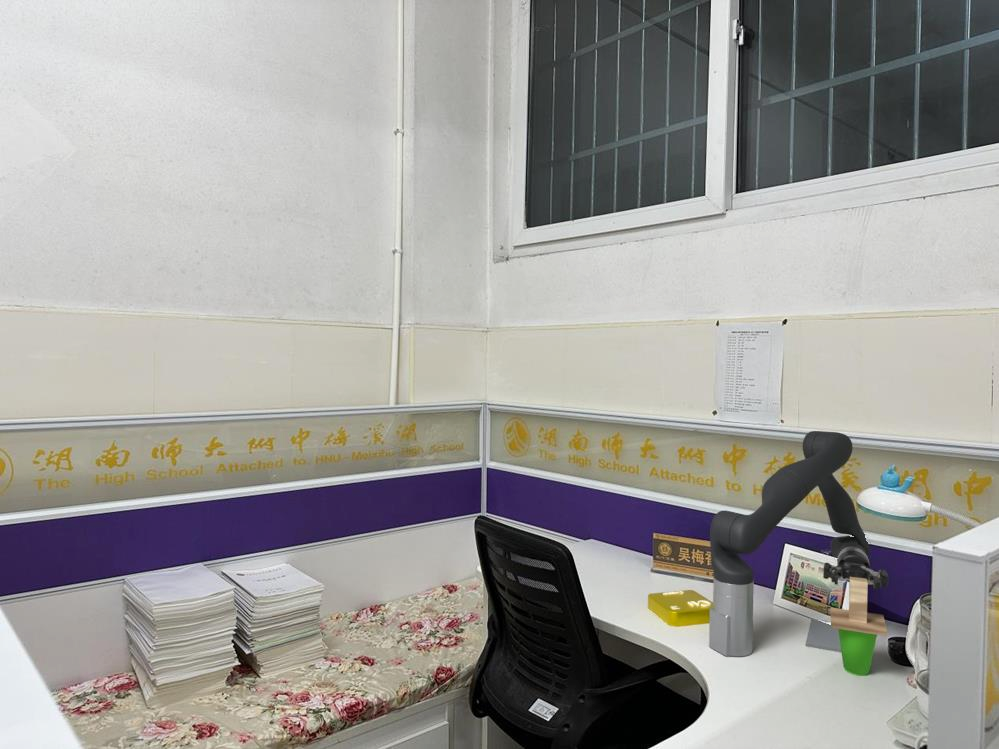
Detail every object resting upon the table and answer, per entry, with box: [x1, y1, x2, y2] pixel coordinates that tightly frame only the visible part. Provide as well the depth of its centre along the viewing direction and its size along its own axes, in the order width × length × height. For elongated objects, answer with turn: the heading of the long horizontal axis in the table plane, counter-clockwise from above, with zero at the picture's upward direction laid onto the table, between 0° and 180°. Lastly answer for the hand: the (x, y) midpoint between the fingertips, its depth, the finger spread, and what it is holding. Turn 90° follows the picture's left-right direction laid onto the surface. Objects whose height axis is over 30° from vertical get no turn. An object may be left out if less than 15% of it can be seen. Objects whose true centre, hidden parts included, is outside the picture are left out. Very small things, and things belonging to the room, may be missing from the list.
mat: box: [805, 618, 841, 653], centre depth 178 cm, size 18×13×1 cm
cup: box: [838, 629, 878, 676], centre depth 160 cm, size 9×9×11 cm
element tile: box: [647, 589, 713, 628], centre depth 193 cm, size 15×15×5 cm
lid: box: [829, 577, 888, 637], centre depth 159 cm, size 11×11×10 cm
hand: (856, 583), depth 169 cm, fingers open, 8 cm apart
